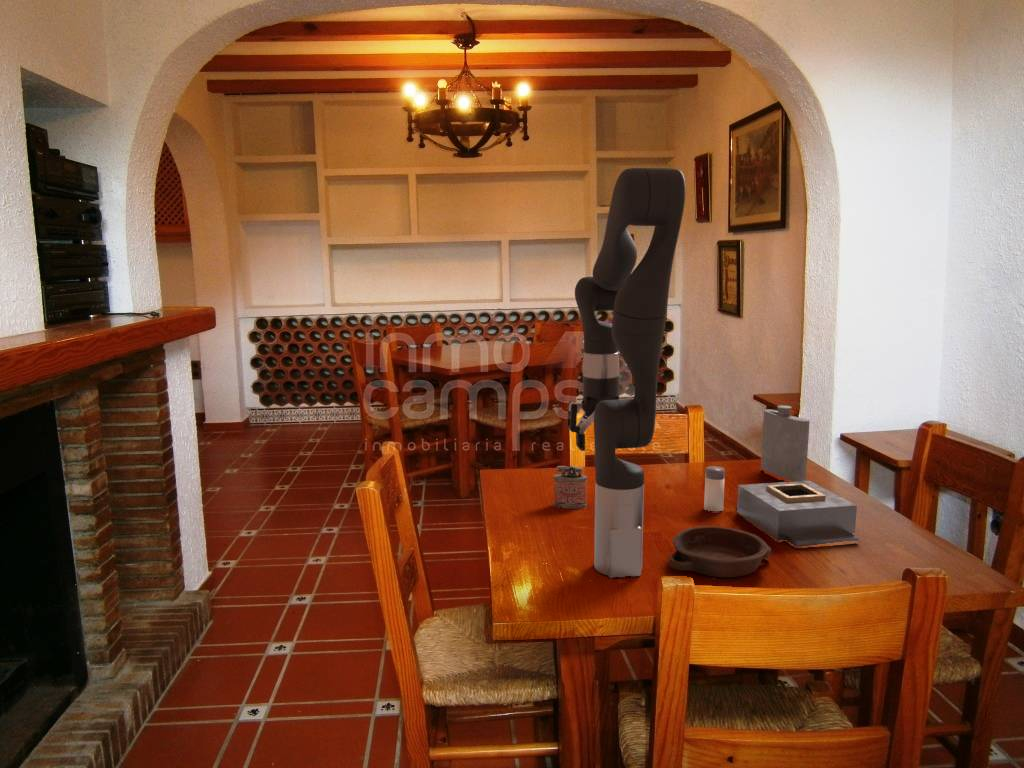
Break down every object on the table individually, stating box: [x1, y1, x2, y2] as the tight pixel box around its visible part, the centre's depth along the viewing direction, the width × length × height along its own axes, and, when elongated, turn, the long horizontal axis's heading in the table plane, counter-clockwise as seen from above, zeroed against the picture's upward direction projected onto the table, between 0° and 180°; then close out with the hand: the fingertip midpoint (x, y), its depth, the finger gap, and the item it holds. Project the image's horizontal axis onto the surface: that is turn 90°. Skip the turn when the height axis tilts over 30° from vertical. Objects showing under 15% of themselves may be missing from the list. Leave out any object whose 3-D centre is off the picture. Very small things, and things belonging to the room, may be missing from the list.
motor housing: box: [736, 480, 859, 547], centre depth 165 cm, size 26×18×8 cm
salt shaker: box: [703, 465, 726, 513], centre depth 175 cm, size 4×4×10 cm
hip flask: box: [760, 405, 810, 482], centre depth 199 cm, size 16×4×20 cm, turn 21°
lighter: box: [553, 464, 588, 509], centre depth 178 cm, size 8×3×10 cm, turn 84°
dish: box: [669, 525, 772, 578], centre depth 144 cm, size 18×22×5 cm
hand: (600, 448), depth 156 cm, fingers open, 8 cm apart
